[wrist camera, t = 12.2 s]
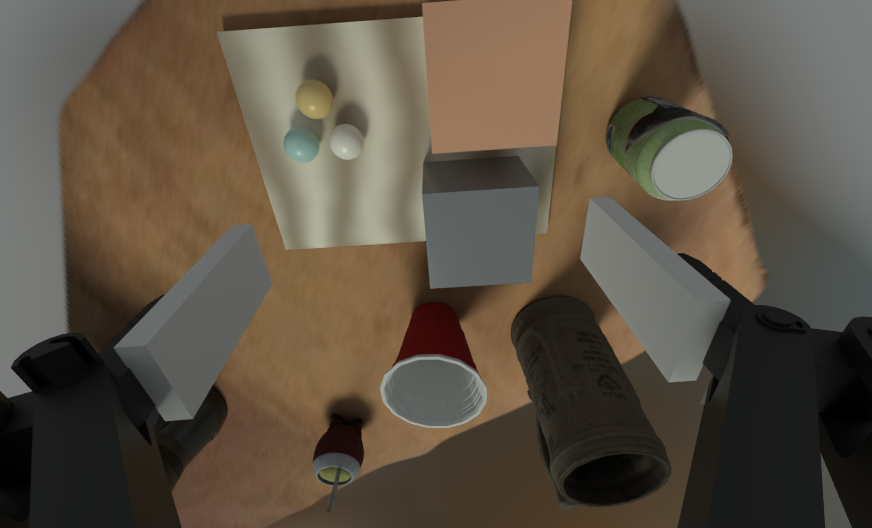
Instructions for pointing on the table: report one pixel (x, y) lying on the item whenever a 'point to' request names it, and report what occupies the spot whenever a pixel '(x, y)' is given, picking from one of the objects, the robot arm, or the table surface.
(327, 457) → the mate gourd
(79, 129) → the table surface
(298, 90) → the marble amber
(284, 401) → the table surface
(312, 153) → the marble teal
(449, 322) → the plastic cup
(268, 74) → the cream cloth mat
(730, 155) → the beverage can
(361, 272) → the table surface
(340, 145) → the marble cream
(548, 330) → the beer stein
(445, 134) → the salmon pink cube
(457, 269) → the gray cube
